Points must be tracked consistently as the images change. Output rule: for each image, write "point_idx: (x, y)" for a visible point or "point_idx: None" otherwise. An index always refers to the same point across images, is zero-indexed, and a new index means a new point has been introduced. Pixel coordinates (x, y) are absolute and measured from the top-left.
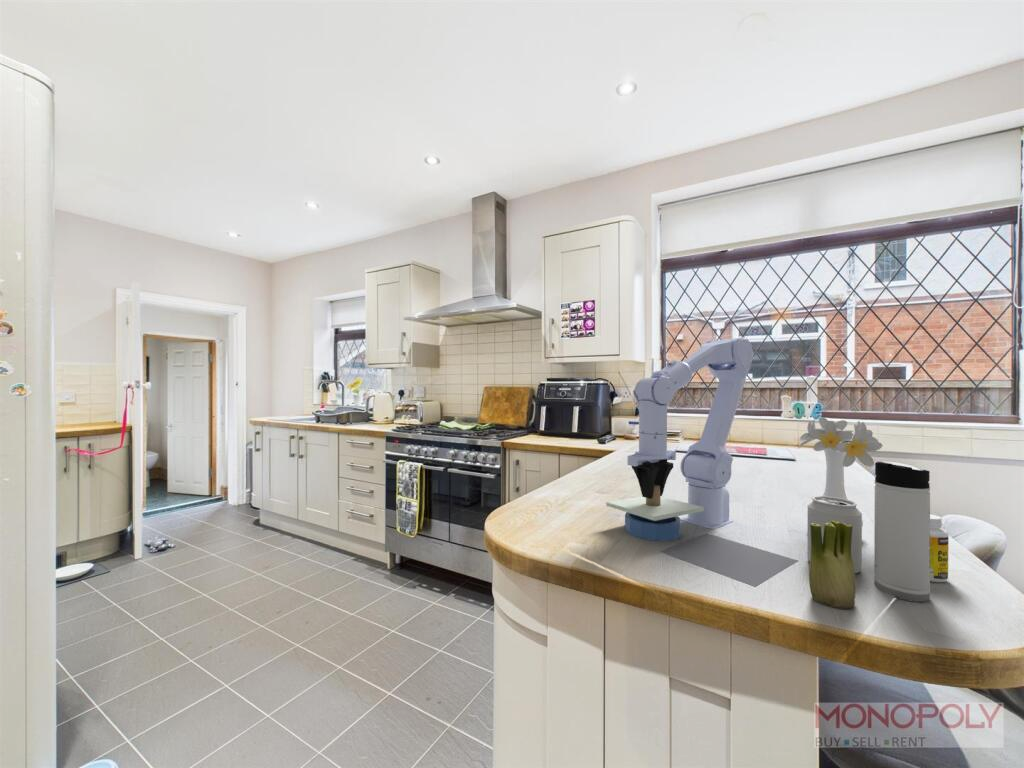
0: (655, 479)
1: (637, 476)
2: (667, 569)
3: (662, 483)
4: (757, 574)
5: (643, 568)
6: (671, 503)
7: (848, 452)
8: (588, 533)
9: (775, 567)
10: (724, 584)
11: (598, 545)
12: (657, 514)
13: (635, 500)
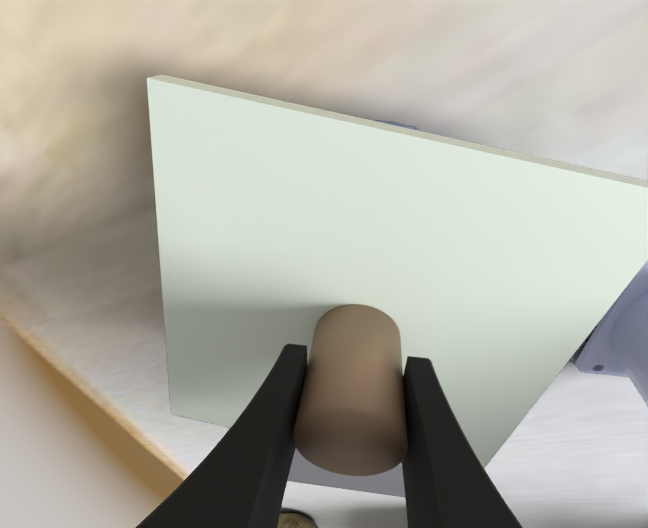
0: (418, 487)
1: (190, 481)
2: (160, 374)
3: (406, 496)
4: (298, 472)
5: (107, 343)
6: (453, 387)
7: None
8: (85, 45)
9: (364, 484)
10: (214, 443)
11: (62, 181)
12: (206, 411)
13: (375, 214)
